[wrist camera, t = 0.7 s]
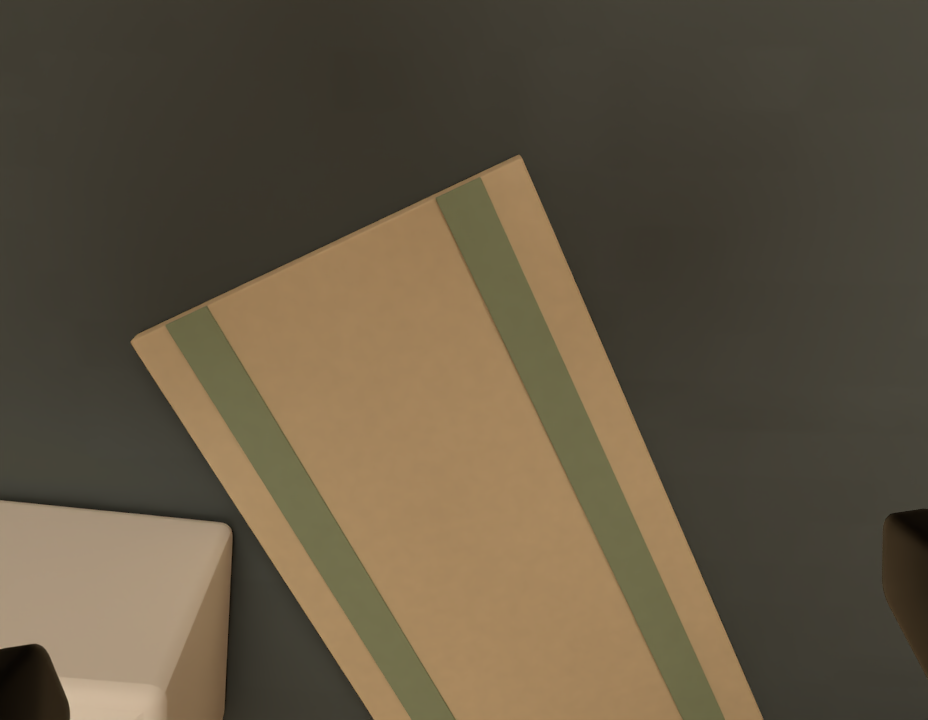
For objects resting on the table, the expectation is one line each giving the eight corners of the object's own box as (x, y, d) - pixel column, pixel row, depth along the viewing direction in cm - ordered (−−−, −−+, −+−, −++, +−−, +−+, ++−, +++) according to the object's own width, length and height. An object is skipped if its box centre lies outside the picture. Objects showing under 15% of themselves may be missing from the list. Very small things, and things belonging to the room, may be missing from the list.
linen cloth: (764, 721, 28) (771, 738, 27) (457, 834, 29) (457, 853, 29) (519, 153, 21) (522, 157, 21) (136, 334, 23) (127, 343, 22)
